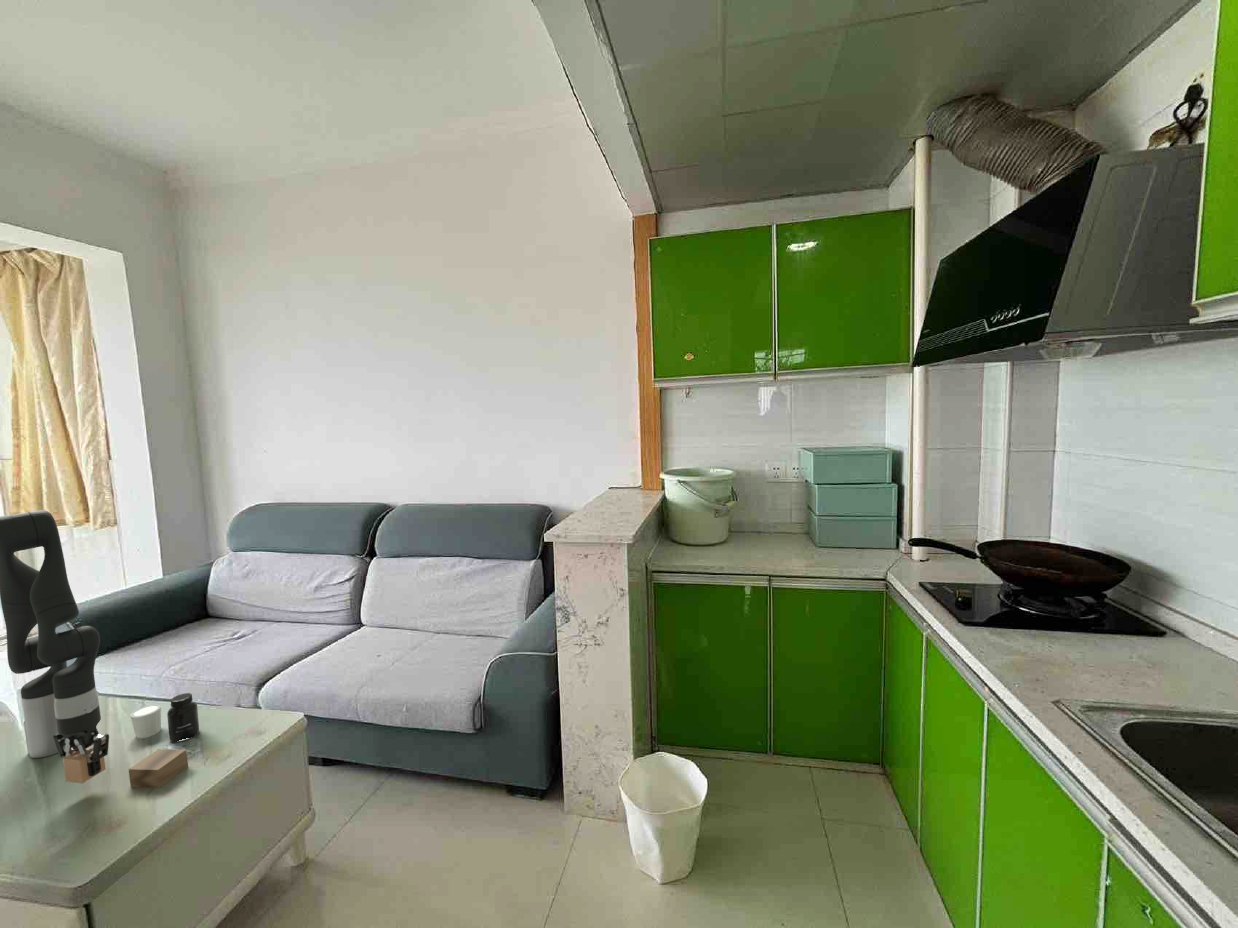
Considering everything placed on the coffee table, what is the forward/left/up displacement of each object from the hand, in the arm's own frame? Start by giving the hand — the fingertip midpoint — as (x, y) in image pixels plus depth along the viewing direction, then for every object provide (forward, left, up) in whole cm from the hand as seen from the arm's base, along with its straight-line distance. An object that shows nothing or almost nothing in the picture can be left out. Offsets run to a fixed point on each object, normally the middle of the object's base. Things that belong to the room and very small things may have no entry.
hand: (85, 772), depth 131 cm
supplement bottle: (+1, +23, -5) cm, 24 cm away
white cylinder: (-12, +23, -5) cm, 27 cm away
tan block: (0, 0, -1) cm, 1 cm away
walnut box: (+12, +8, -6) cm, 15 cm away
